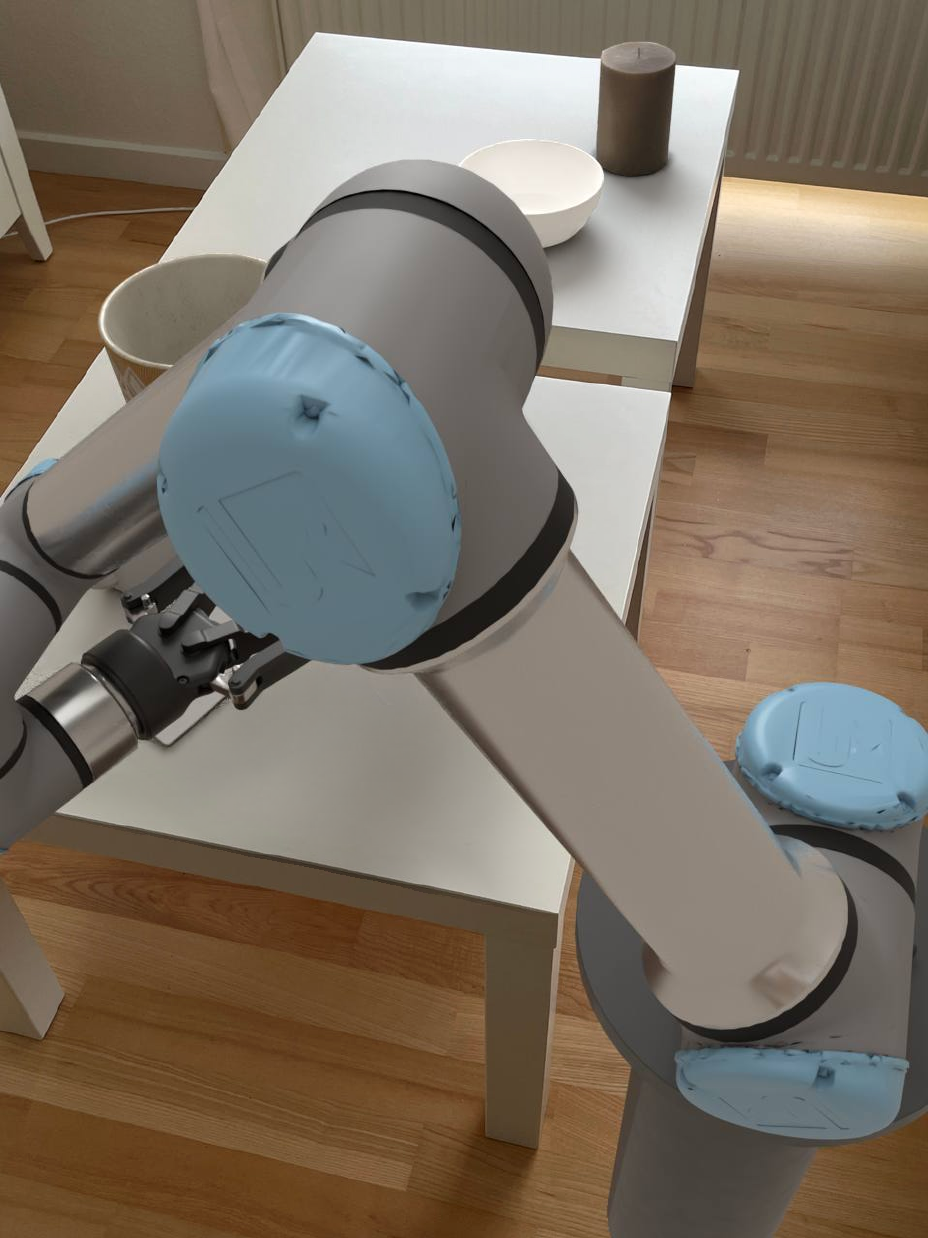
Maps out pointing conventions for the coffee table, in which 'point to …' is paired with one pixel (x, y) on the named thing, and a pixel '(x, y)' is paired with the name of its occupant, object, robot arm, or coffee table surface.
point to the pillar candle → (635, 107)
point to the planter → (172, 312)
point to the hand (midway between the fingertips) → (349, 528)
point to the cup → (139, 567)
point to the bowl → (543, 183)
